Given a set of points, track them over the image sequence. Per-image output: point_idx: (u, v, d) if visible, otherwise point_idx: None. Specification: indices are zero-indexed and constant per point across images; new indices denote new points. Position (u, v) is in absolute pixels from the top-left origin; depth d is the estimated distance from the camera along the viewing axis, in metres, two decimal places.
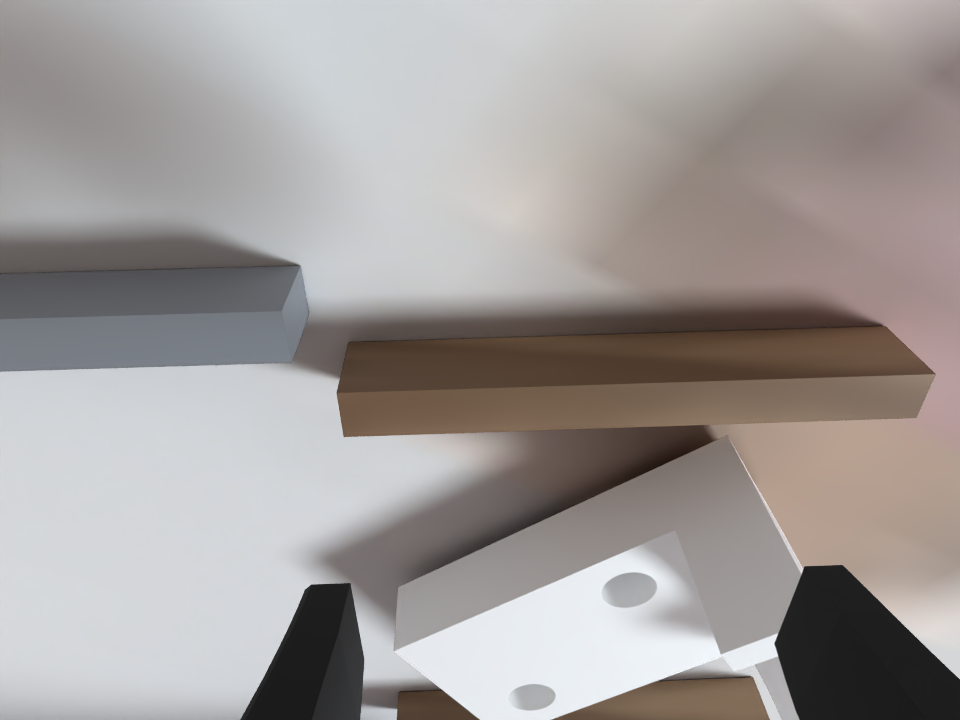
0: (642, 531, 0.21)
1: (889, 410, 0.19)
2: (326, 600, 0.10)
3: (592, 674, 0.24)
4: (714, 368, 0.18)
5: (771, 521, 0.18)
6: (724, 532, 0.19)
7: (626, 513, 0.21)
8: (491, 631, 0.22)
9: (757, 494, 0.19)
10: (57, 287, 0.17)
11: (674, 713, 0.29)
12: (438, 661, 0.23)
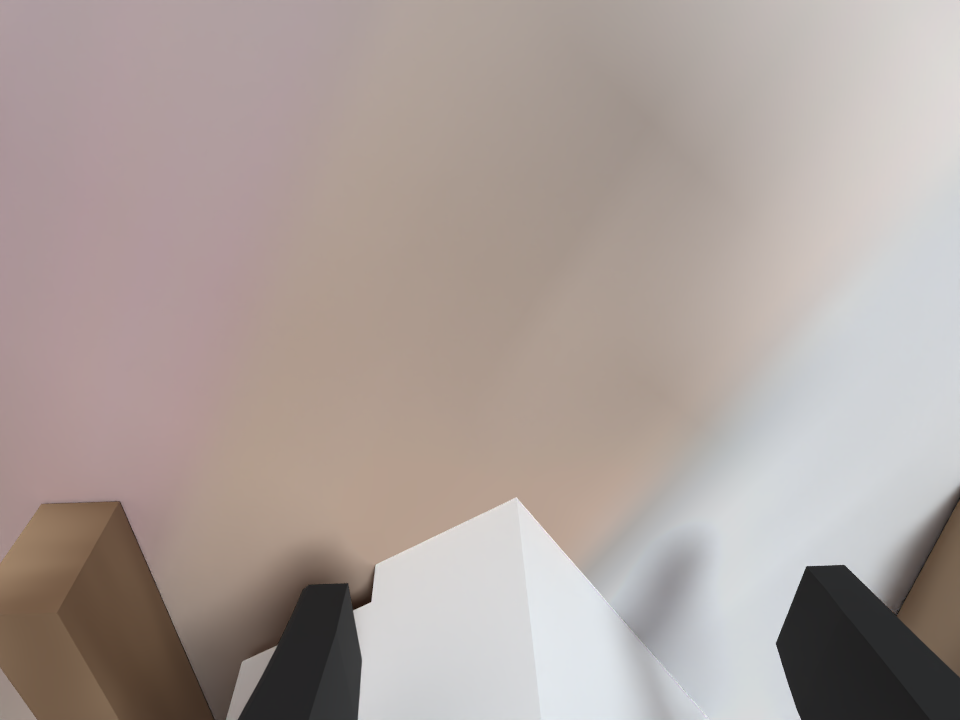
0: None
1: (57, 645, 0.11)
2: (324, 600, 0.10)
3: None
4: None
5: None
6: None
7: None
8: None
9: None
10: None
11: (944, 657, 0.14)
12: None
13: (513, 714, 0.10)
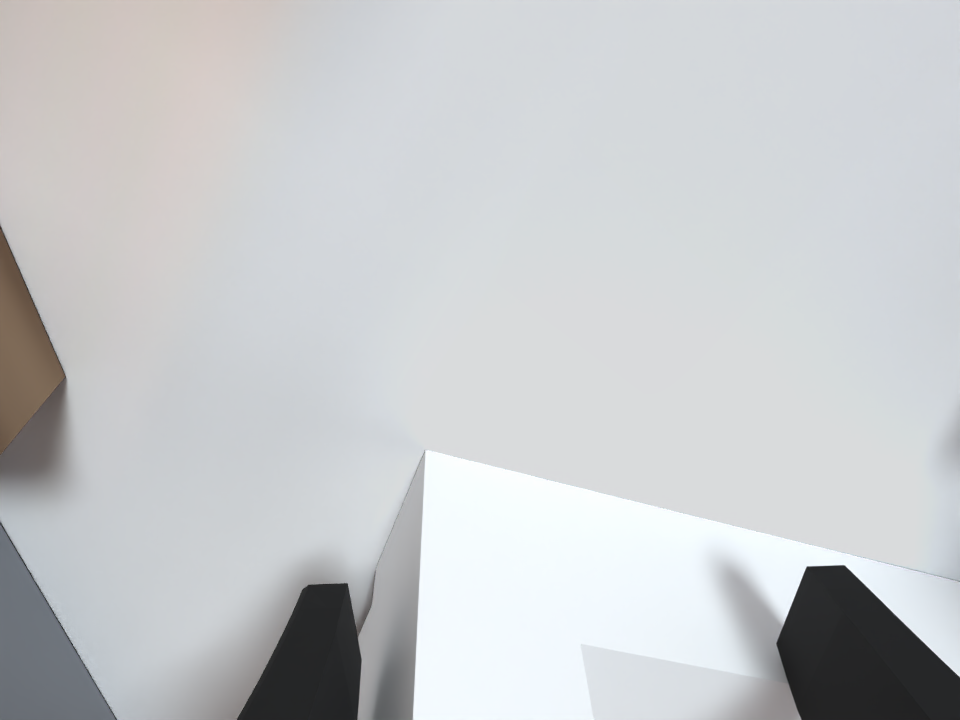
0: None
1: None
2: (323, 600, 0.10)
3: None
4: None
5: None
6: None
7: None
8: None
9: None
10: None
11: None
12: None
13: (406, 675, 0.09)
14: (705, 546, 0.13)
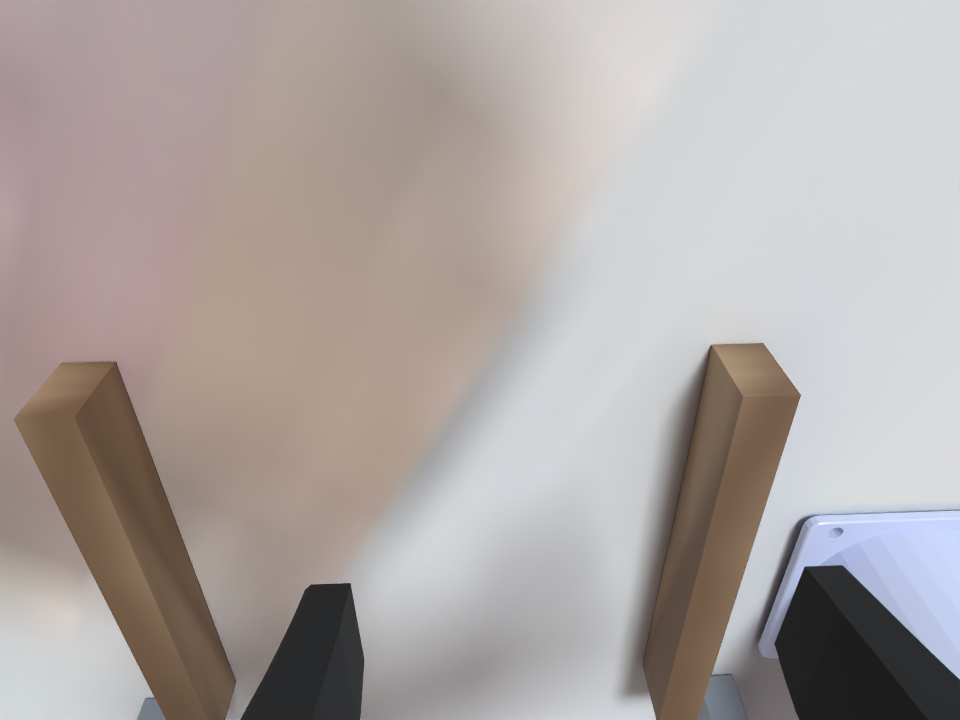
0: None
1: (73, 443, 0.17)
2: (326, 600, 0.10)
3: None
4: None
5: None
6: None
7: None
8: None
9: None
10: None
11: (703, 482, 0.20)
12: None
13: None
14: None
